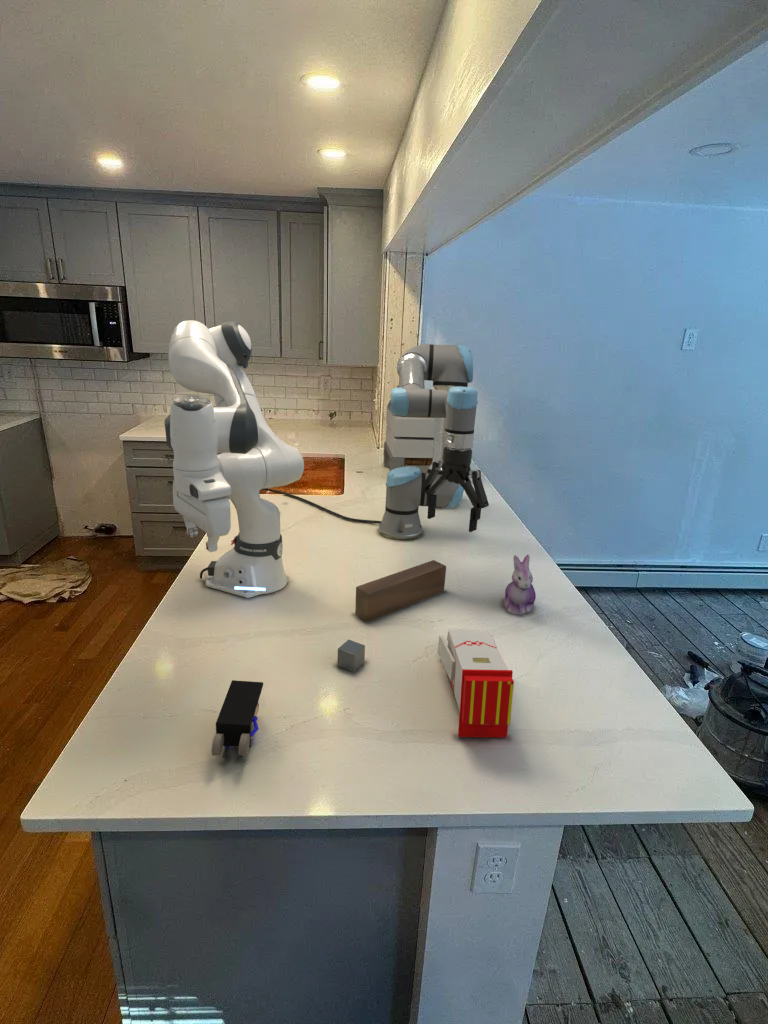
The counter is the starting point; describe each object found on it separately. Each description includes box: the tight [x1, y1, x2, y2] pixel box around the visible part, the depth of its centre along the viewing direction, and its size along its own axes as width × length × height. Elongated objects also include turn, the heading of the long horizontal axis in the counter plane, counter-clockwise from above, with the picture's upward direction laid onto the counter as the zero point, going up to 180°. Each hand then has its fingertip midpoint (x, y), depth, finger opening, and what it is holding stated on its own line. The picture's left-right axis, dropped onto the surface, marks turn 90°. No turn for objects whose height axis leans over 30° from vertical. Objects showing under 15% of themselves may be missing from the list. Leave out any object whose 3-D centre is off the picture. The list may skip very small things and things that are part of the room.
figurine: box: [503, 553, 537, 615], centre depth 151 cm, size 9×10×15 cm
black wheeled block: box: [211, 679, 264, 761], centre depth 102 cm, size 7×8×15 cm
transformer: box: [383, 384, 435, 472], centre depth 268 cm, size 34×33×41 cm
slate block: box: [336, 639, 366, 673], centre depth 125 cm, size 4×4×4 cm
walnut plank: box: [354, 559, 447, 623], centre depth 152 cm, size 5×28×8 cm, turn 131°
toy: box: [437, 628, 515, 738], centre depth 117 cm, size 12×13×30 cm
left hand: (202, 543), depth 118 cm, fingers open, 8 cm apart
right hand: (451, 524), depth 155 cm, fingers open, 13 cm apart
